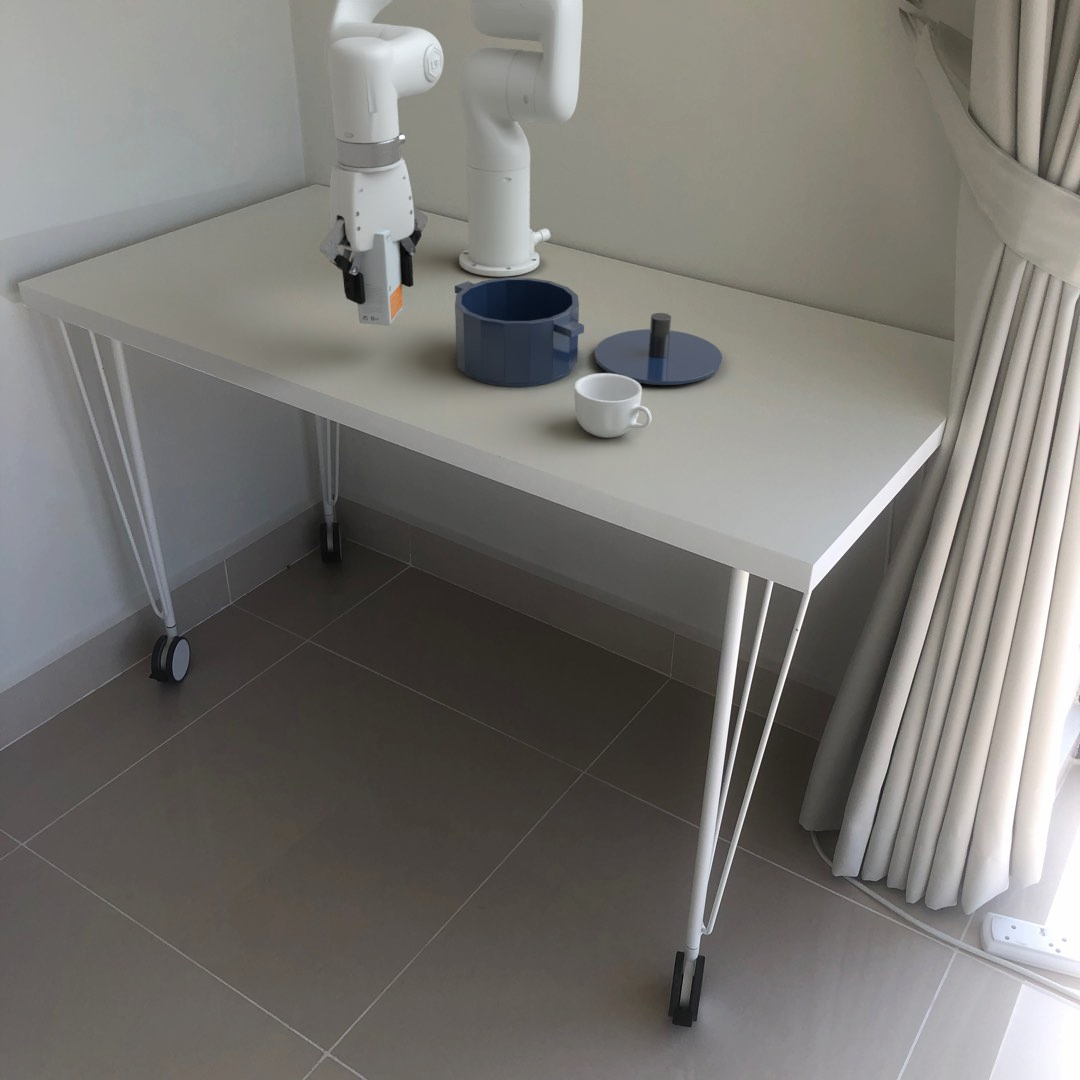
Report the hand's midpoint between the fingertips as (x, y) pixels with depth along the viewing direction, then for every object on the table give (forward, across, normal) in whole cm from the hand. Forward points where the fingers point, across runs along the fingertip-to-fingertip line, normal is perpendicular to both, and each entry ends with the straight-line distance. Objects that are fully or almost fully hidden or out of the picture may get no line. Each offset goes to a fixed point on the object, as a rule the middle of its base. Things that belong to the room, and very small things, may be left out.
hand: (380, 291), depth 148 cm
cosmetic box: (+4, 0, 0) cm, 4 cm away
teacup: (+9, -5, +35) cm, 37 cm away
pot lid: (+9, -24, +26) cm, 37 cm away
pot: (+9, -11, +13) cm, 20 cm away
